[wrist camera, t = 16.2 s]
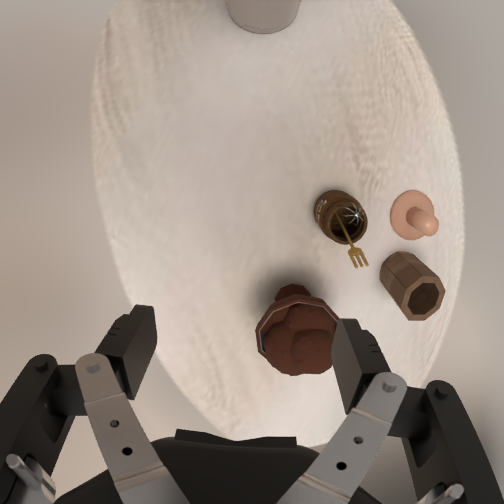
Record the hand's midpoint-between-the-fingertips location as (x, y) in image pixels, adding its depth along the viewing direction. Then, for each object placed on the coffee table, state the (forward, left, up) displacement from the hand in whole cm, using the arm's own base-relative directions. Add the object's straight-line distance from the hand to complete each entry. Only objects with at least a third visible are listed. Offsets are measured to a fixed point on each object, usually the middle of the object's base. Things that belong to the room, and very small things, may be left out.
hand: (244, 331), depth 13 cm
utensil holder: (+1, +11, -30) cm, 32 cm away
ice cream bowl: (+15, +7, -30) cm, 34 cm away
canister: (+9, +23, -30) cm, 39 cm away
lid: (0, +23, -30) cm, 38 cm away
